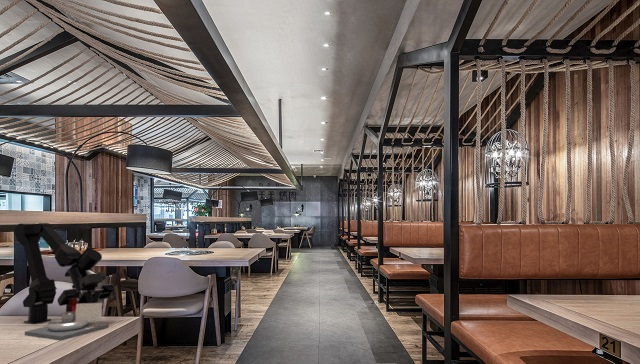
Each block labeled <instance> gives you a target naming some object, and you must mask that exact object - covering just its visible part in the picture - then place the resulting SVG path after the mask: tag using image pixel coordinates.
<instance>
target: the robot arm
mask: <svg viewBox="0 0 640 364" xmlns="http://www.w3.org/2000/svg"><path fill="white" fill-rule="evenodd" d="M13 230H14V231H13V232H14V236H15V239H16V240H17V242H18V243H19V244H20V245H21V246H22V247H23V250H24V253H25V259H26V261H27V268H28V273H29V275H30V280H31V282H30V284H29V288H28V295H26V297H25V298H24V299H23V300H22V307H24V308H28V314H27V315H28V317H27V320H24V321H23V323H25V324H26V323H27V324H33V325H35V324H39V323H40V324H41V323H43V322H50V321H51V320H52V319H51V318H48V317H49V316H48V315H49V314H48V313H49V307H48V305H50V304H51V305H53V303H54V301H55V298H56V294H57V289H58V288H57V286H56V282H55V279H52V278H51V279H50V278H48V276H47V273H46V270H45V265H44V260H43V256H42V253H41V248H40V244H39V243H40V240H41V239H43V241H44V242H45V243H46V244H47V245H48V246H49V248H50V249H51V250H52V252H54V259H55V261H56V263H57V264H58V266H60V267H61V268H65V267H69V268H68V269H66V272H65V274H64V277H66V278H67V277H69V278H70V280H71V281H72V285H71V288H68V289H69V290H68V289H64V290H62V292H61V294H60V295H59V297H58V298H57V304H58V306H59V307H60V306H66V305H68V303H69V302H70V301H69V299H76V298H77V303H76V304H78V303H99V300H104V299H109V298H110V297H111V296H112V294H113V293H114V292H115V290H116V287H115V285H114V284H113V283H109V284H108V283H107V284H102V286H101V287H100V288H98V286H99V284H100V283H103V282H104V280H106V279H107V276H106V275H107V274H106V273H105V271H104V270H103V271H98V272H96V273H90V274H89V271H92V270H93V269H94V268H95V267H96V266H97V265H98V263H100V262H101V260H102V259H103V257H102V256H103V255H102V254H101V253H100V252H99V251H97V250H96V249H93V247H89V246H88V247H86V248H85V249H84V251H83V252H82V253H81V251H79V250H78V249H77V248H76V247H73V246H72V245H69V244H68V243H66V241H65V240H64V239H63V238H62V237H61V236H60V235H59V233H57V231H56V230H55V229H54V227H53V225H52V223H49V222H38V223H32V222H31V223H27V222H26V223H18V224H17V225H16V226H15V227H14V229H13ZM72 288H73V289H72ZM74 288H75V289H74ZM96 288H97V289H96ZM76 292H77V293H76Z"/></svg>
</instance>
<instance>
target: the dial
mask: <svg viewBox="0 0 640 364" xmlns="http://www.w3.org/2000/svg"><path fill="white" fill-rule="evenodd" d="M102 311H103V302H98V303H78V304H76V318H75V312H66V311H64V312H62V313H61V314H62V315H61V319H56V320H52V321H48V323H47V326H48V330H50V331H68V330H75V329H79V328H83V327H86V326H87V325H88V322H98V321H101V320H102Z"/></svg>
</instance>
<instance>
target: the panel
mask: <svg viewBox="0 0 640 364" xmlns="http://www.w3.org/2000/svg"><path fill="white" fill-rule="evenodd" d="M109 326H110V325H109V323H102V322H96V321H88V325H87V326H86V327H83V328H79V329H75V330H68V331H50V330H48V325H47V326H44V327H38V328H34V329H31V330H26V331H24V336H27V337H36V338H42V339H43V338H44V339H50V340H57V341H64V340H68V339H71V338H76V337H79V336H82V335H86V334H90V333H93V332H97V331H101V330H105V329H108V327H109Z"/></svg>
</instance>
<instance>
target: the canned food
mask: <svg viewBox="0 0 640 364" xmlns="http://www.w3.org/2000/svg"><path fill="white" fill-rule="evenodd" d="M69 289H70V288H68V289H67V290H69ZM71 289H73V288H72V287H71ZM74 289H75V288H74ZM76 293H77V292H76ZM69 301H70V302H69V303H68V305H65V312H75V318H76V303H77V298H76V299H69Z"/></svg>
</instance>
